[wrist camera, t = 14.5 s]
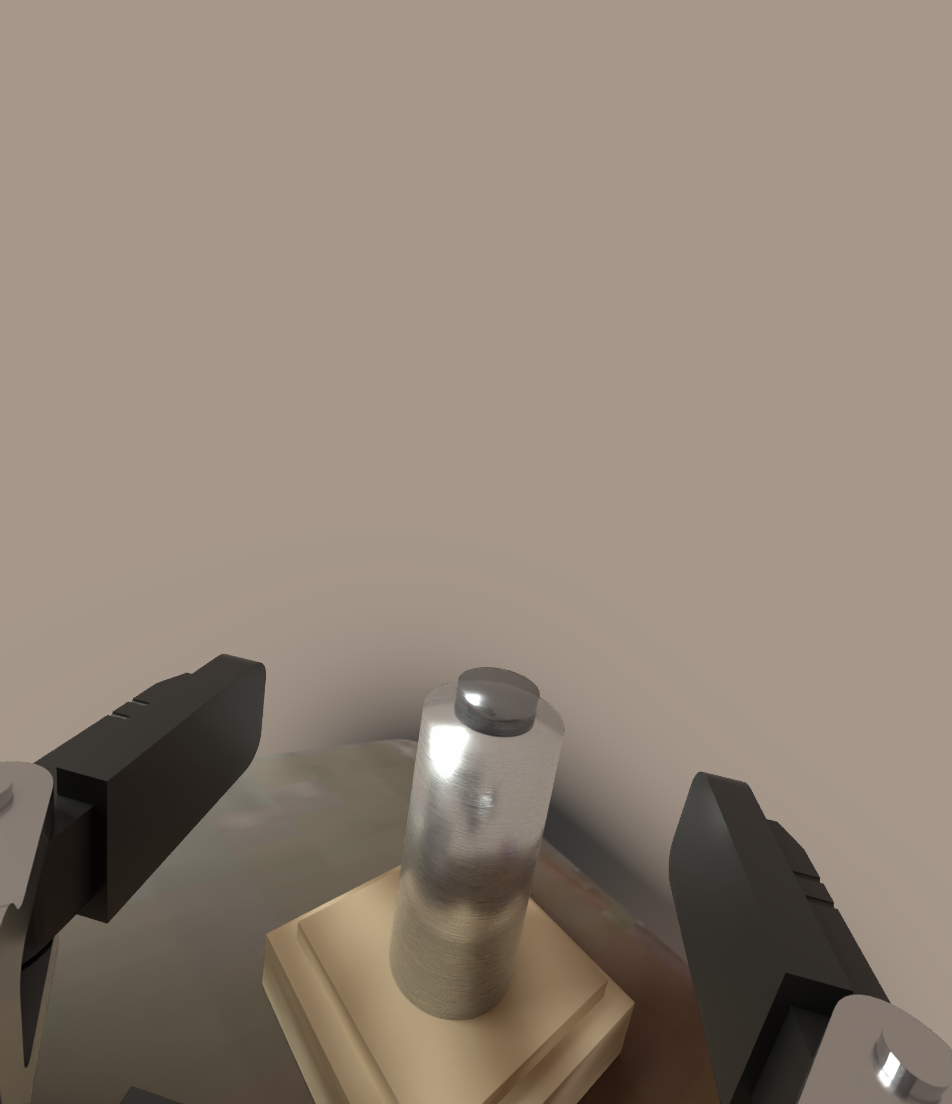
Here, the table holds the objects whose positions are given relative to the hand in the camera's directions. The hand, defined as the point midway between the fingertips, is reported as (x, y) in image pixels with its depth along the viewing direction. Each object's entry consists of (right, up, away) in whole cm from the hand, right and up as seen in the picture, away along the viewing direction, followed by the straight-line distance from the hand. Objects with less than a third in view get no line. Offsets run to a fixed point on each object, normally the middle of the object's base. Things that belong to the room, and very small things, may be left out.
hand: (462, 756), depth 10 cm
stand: (-1, -18, +15) cm, 24 cm away
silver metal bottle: (-1, -14, +14) cm, 20 cm away
